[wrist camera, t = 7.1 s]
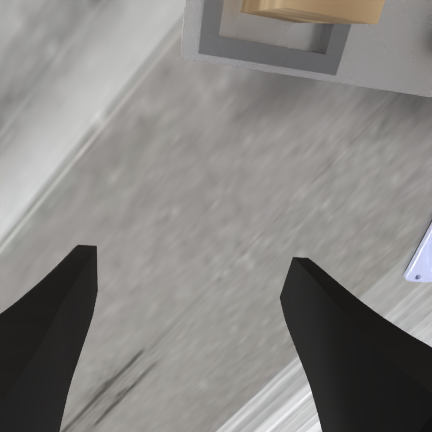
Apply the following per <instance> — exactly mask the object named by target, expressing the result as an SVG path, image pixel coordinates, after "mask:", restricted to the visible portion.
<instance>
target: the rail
mask: <svg viewBox="0 0 432 432" xmlns="http://www.w3.org/2000/svg"><path fill="white" fill-rule="evenodd" d="M241 5H242V0H185V5H184V16H183V27H182V38H181V49H180V58H181V59H188V60H194V61H201V62H207V63H213V64H220V65H226V66H233V67H239V68H246V69H252V70H258V71H265V72H271V73H278V74H284V75H290V76H297V77H303V78H310V79H316V80H323V81H329V82H335V83H342V84H348V85H355V86H361V87H368V88H374V89H380V90H387V91H393V92H400V93H406V94H412V95H419V96H425V97H432V0H385V3H384V6H383V9H382V12H381V15H380V18H379V21H378V24H333V23H296V22H291V21H285V20H279V19H274V18H268V17H262V16H257V15H251V14H245V13H240V11H241Z"/></svg>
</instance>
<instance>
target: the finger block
mask: <svg viewBox="0 0 432 432" xmlns="http://www.w3.org/2000/svg"><path fill="white" fill-rule="evenodd" d="M384 3H385V0H242V5H241V11H240V13H245V14H251V15H257V16H262V17H268V18H274V19H279V20H285V21H291V22H296V23H333V24H378V21H379V18H380V15H381V12H382V9H383V6H384Z"/></svg>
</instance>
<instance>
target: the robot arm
mask: <svg viewBox="0 0 432 432" xmlns="http://www.w3.org/2000/svg"><path fill="white" fill-rule="evenodd" d="M404 278H405V279H406V280H407V281H416V282H432V223H431V225H430V227H429V228H428V230H427V232H426V234H425V236H424V238H423V240H422V242H421V243H420V245H419V247H418V249H417V251H416V253H415V255H414V256H413V258H412V260H411V262H410V264H409V266H408V268H407V269H406V271H405V273H404ZM97 292H98V286H97V246H88V245H77V246H76V247H75V248H74V249H73V250H72V251H71V252H70V253H69V254H68V255H67V256H66V257H65V258H64V259H63V260H62V261H61V262H60V263H59V264H58V265H57V266H56V267H55V268H54V269H53V270H52V271H51V272H50V273H49V274H48V275H47V276H46V277H45V278H44V279H42V280H41V281H40V282H39V283H38V284H37V285H36V286H35V287H34V288H32V289H31V290H30V291H29V292H28V293H26V294H25V295H24V296H23V297H22V298H20V299H19V300H18V301H17V302H15V303H14V304H13V305H12V306H10V307H9V308H8V309H6V310H5V311H4V312H2V313H1V314H0V432H59V431H60V426H61V421H62V417H63V413H64V408H65V404H66V400H67V395H68V391H69V387H70V384H71V380H72V377H73V374H74V371H75V368H76V365H77V362H78V359H79V356H80V353H81V350H82V347H83V344H84V341H85V338H86V335H87V332H88V329H89V326H90V323H91V320H92V316H93V312H94V307H95V302H96V297H97ZM280 300H281V305H282V309H283V313H284V317H285V321H286V324H287V327H288V329H289V332H290V335H291V337H292V340H293V342H294V345H295V347H296V350H297V353H298V355H299V358H300V360H301V363H302V365H303V368H304V370H305V373H306V376H307V378H308V381H309V384H310V387H311V391H312V394H313V398H314V401H315V405H316V409H317V412H318V416H319V420H320V424H321V428H322V432H432V347H430V346H429V345H427V344H425V343H423V342H422V341H420V340H418V339H416V338H414V337H413V336H411V335H409V334H408V333H406V332H404V331H403V330H401V329H400V328H398V327H397V326H395V325H394V324H392V323H391V322H389V321H388V320H386V319H385V318H383V317H382V316H380V315H379V314H377V313H376V312H375V311H373V310H372V309H371V308H369V307H368V306H367V305H365V304H364V303H363V302H361V301H360V300H359V299H357V298H356V297H355V296H354V295H352V294H351V293H350V292H349V291H348V290H346V289H345V288H344V287H343V286H341V285H340V284H339V283H338V282H337V281H336V280H334V279H333V278H332V277H331V276H330V275H328V274H327V273H326V272H325V271H324V270H323V269H321V268H320V267H319V266H318V265H316V264H315V263H314V262H313V261H311V260H310V259H309V258H299V257H293V259H292V262H291V265H290V268H289V271H288V274H287V277H286V280H285V283H284V286H283V289H282V292H281V295H280Z"/></svg>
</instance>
